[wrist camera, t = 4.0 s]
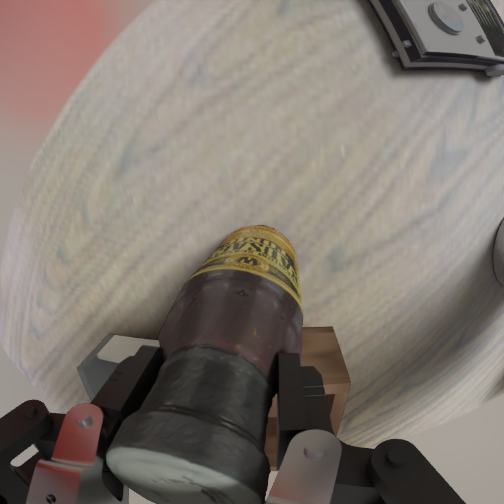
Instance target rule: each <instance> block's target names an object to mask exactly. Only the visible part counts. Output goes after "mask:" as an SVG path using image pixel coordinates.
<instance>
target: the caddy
mask: <svg viewBox="0 0 504 504" xmlns="http://www.w3.org/2000/svg"><path fill="white" fill-rule="evenodd" d="M301 366H314V367H315V368H316V369H317V370H318V372H319V373H320V374H321V375H322V380H323V384H324V389H325V396H326V399H327V404H328V409H329V414H330V419H331V424H332V429H333V432H334V434H335V435H337V432H338V429H339V426H340V422H341V419H342V416H343V412H344V408H345V405H346V401H347V397H348V393H349V390H350V385H351V381H350V377H349V374H348V371H347V368H346V365H345V362H344V359H343V356H342V353H341V350H340V347H339V344H338V341H337V338H336V335H335V332H334V329H333V327H303V328H302V357H301ZM264 451H265V453H266V456H267V457H268V459H269V463H270V470H271V471H279V470H276V469H277V394H276V395H275V397H274V398H273V402H272V407H271V408H270V411H269V414H268V424H267V427H266V441H265V448H264Z"/></svg>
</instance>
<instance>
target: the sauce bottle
mask: <svg viewBox="0 0 504 504" xmlns="http://www.w3.org/2000/svg"><path fill="white" fill-rule="evenodd" d="M302 325H303V308H302V298H301V288H300V280H299V271H298V263H297V257H296V253H295V251H294V248H293V246H292V245H291V243H290V242H289V240H288V239H287V238H286V237H285V236H283V234H281V233H280V232H278V231H276V230H275V229H274V228H270V227H267V226H264V225H254V226H247V227H243V228H241V229H238V230H237V231H235V232H233V233H232V234H231V235H230V236H229V237H227V238H226V239H225V241H224V242H223V243H222V244H221V245H220V246H219V247H218V248H217V249H216V251H215V252H214V253H213V254H212V255H211V256H210V257H209V258H208V259H207V260H206V262H205V263H204V264H203V265H202V266H201V267H200V268H199V269H198V270H197V271H196V272H195V273H194V274H193V275H192V276H191V278H190V279H189V280H188V281H187V282H186V283H185V284H184V286H183V287H182V289H181V291H180V293H179V295H178V297H177V299H176V301H175V303H174V305H173V307H172V309H171V310H170V312H169V314H168V316H167V318H166V320H165V322H164V324H163V326H162V328H161V330H160V333H159V336H158V341H159V345H160V347H162V348H163V361H164V363H163V365H162V366H161V368H160V369H159V373H158V378H157V380H156V382H155V384H154V385H153V387H152V389H151V391H150V392H149V394H148V396H147V397H146V399H145V400H144V402H143V404H142V406H141V408H140V409H139V410H137V411H136V412H134V413H133V414H131V415H130V416H128V417H127V418H126V419H125V420H124V421H123V422H122V424H121V426H120V428H119V430H118V432H117V434H116V435H115V437H114V440H113V442H112V443H111V445H110V447H109V448H108V450H107V453H106V460H107V465H108V467H109V468H110V470H111V472H112V473H113V474H114V475H115V476H116V478H117V479H119V480H120V481H121V482H122V483H123V484H124V485H126V486H127V487H128V488H130V489H132V490H133V491H134V492H136V493H138V494H139V495H141V496H142V497H144V498H146V499H147V500H149V501H151V502H154V503H156V504H263V503H264V502H265V496H266V491H267V487H268V478H269V474H270V472H271V470H270V463H269V459H268V457H267V456H266V453H265V451H264V448H265V441H266V427H267V424H268V414H269V411H270V408H271V407H272V402H273V398H274V397H275V395H276V394H277V392H278V353H299V357H300V364H301V357H302Z"/></svg>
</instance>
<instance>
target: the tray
mask: <svg viewBox="0 0 504 504" xmlns="http://www.w3.org/2000/svg"><path fill="white" fill-rule="evenodd" d="M142 345H148V346H157V347H160V345H159V341H158V340H149V339H141V338H133V337H126V336H119V335H112V334H108V335H107V336H106V337H105V338H104V339H103V340H102V341H101V343H100V344H99V345H98V346H97V347H96V348H95V349H94V350H93V351H92V352H91V353H90V354H89V355H88V356H87V358H86V359H85V360H84V361H83V362H82V363H81V364H80V365H79V366H78V367H77V370H78V372H79V375H80V377H81V379H82V382H83V384H84V386H85V388H86V391H87V393H88V395H89V397H90V399H91V401H92V400H93V399H94V397H95V396H96V395H97V393H98V392H99V390H100V389H101V388H102V386H103V385H104V383H105V382H106V381H107V380H109V377H110V375H111V374H112V373H114V370H115V368H116V367H117V366H118V364H119V363H120V362H121V361H123V360H124V359H126V358H127V357H129V356H134V355H135V354H136V352H137V351H138V350H139V348H140V347H141V346H142Z"/></svg>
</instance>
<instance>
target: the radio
mask: <svg viewBox="0 0 504 504" xmlns="http://www.w3.org/2000/svg"><path fill="white" fill-rule="evenodd" d="M368 1H369V3H370V5H371V6H372V8H373V10H374V12H375V13H376V15H377V17H378V19H379V21H380V22H381V24H382V26H383V28H384V30H385V32H386V34H387V36H388V38H389V40H390V42H391V44H392V46H393V48H394V50H395V51H393V52H392V53H391V54H392V56H393V57H396V58H398V59H399V61H400V64H401V66H402V68H403V70H425V69H443V70H468V71H481V72H486V74H487V75H488V76H500V75H504V23H503V21H502V20H501V18H500V16H499V14H498V13H497V11H496V9H495V8H494V6H493V4H492V3H491V1H490V0H368Z"/></svg>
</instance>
